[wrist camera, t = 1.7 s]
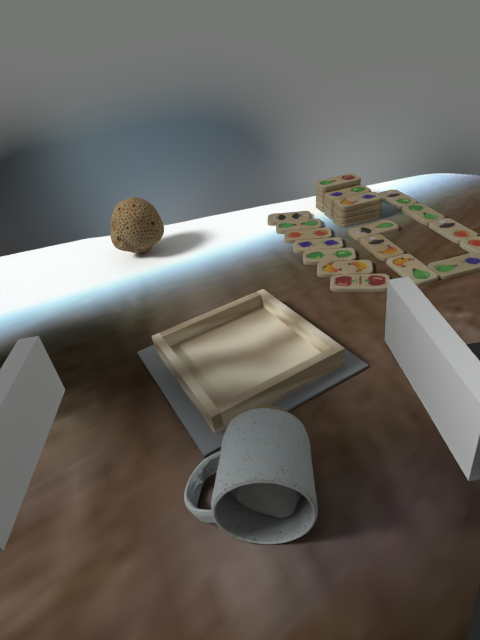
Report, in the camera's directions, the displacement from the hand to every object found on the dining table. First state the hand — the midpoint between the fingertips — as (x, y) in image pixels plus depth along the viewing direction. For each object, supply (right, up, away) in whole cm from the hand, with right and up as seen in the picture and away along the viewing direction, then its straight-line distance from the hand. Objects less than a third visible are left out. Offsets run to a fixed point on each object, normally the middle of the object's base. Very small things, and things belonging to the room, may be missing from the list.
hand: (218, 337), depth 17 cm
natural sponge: (-16, +13, +62) cm, 65 cm away
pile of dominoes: (+23, +14, +57) cm, 63 cm away
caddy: (+1, -4, +34) cm, 34 cm away
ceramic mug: (+2, -15, +20) cm, 24 cm away
